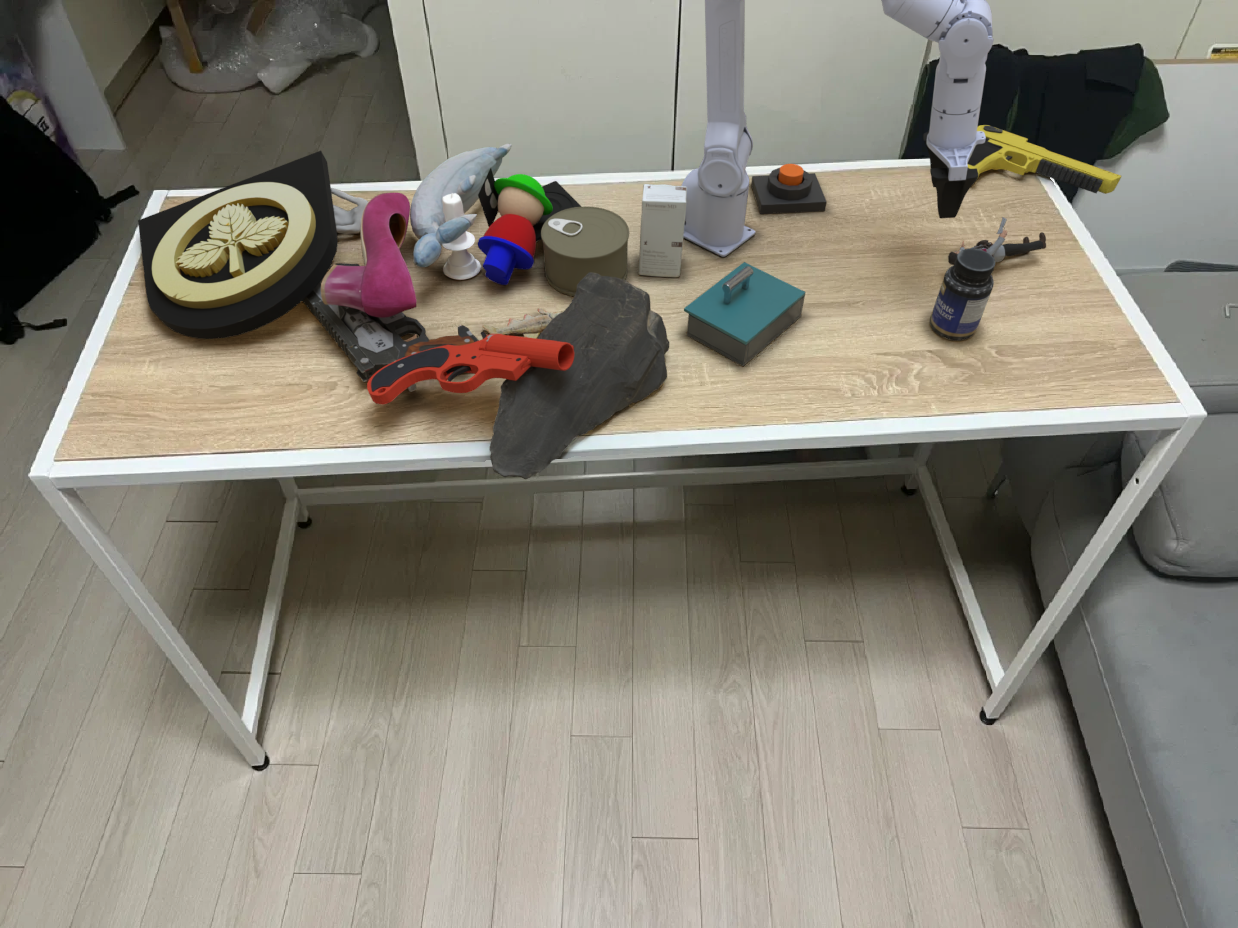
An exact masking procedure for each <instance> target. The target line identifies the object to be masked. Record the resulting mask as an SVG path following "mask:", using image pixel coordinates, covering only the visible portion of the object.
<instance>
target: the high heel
mask: <svg viewBox="0 0 1238 928" xmlns="http://www.w3.org/2000/svg"><path fill="white" fill-rule="evenodd" d="M410 208H411V204H410V201H409V198H408V197H407V196H406V195H405V194H404V193H402V192H382V193H379V194H376V195H375V196H373V197H372V198H371V199H370V200H369V201H368V203H367V205H366V206H365V209H364V211H363V214H362V218H361V232H360V247H361V255H362V261H363V265H360V266H341V265H333V264H332V265H333V266H332V267H331V268H330V269H328V271H327V272H326V273H327V274H326V275H325V277H324V278H323V280H322V283H321V297H322V301H323V303H324V304H326V305H340V306H346V307H351V308H355V309H358V310H361V311H363V312H366V313H367V314H368V315H371V316H375V317H381V318H386V317H391V316H393V315H396V314H398V313H401V312H403V313H404V312H406V311H409V310H413V309H416V308H417V306H418V305H417V304H418V303H417V302H418V301H417V295H416V291H415V287H414V283H413V280H412V276H411V274H410V271H409V267H408V266H407V263H406V261H405V259H404V257H403V254H402V253H401V250H400V249H401V247H402V245H403V243H404V241H405V238H406V235H407V232H408V227H409V222H410Z"/></svg>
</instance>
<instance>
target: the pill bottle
mask: <svg viewBox="0 0 1238 928" xmlns="http://www.w3.org/2000/svg"><path fill="white" fill-rule="evenodd" d="M954 264H955V265H952V266H949V268H948V269H947V270H946V271H945V273H944V276H943V279H942V281H941V284H940V288H939V290H938V294H937V296H936V300H935V303H934V306H933V309H932V312H931V314H930V317H929V326H930V328H931V329H932V330H933V332H934V333H935V334H936V335H937V336H939V337H941V338H944V339H947V340H949V341H956V342H957V341H958V342H961V341H966V340H968V339H971V338H972V337H973V336H974V335H975V334H976V332H977V330H978V327H979V325H980V322H981V320H982V317H983V315H984V312H985V309H986V307H987V305H988V302H989V299H990V297H991V294H992V291H993V288H994V285H995V280H994V277H993V275H992V274H993V272H994V271H995V267H996V263H995V259H994V258H993V256H992V255H990V254H989V253H987V252H986V251H983V250H980V249H974V248H972V247H971V249H970V248H964V250H962V251H960V252H959V253H958V255H957V258H956V260H955V263H954Z"/></svg>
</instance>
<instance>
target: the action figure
mask: <svg viewBox="0 0 1238 928" xmlns="http://www.w3.org/2000/svg"><path fill="white" fill-rule="evenodd" d="M1007 221H1008V218H1005V217H1003V216H1002V217H1001V221H1000V224H999V227H998V229H997V232H996V233H995V234H996V235H998V237H997V238H996V240H995V242H994V243H992V242H991V241H989V240H988V239H981V240H979V241H977V243H976V244H975V245H974V246H973V247H971V248H974V249H980V250H983V251H986V252H987V253H989V254H990V255H992V256H993V258H994V259H995V264H997V263H1000V262H1002V261H1003V260H1004V259H1005V257H1013V256H1018V255H1022V254H1023V255H1025V254H1029V253H1031V252H1033V251H1040V250H1045V249H1046V248H1047V237H1046V236H1047V235H1046V234H1045V232H1043V231H1041V232H1039V234H1038V237H1039V238H1038V239H1039V240H1034V241H1031V242H1030V238H1029V237H1028V236H1024V237H1023V239H1022V242H1020V243H1019V242H1017V243H1012V242H1011V243H1004V242H1005V241H1006V237H1007V236H1008V231H1007V230H1006V229H1005V225H1006V223H1007ZM965 245H966V244H965V240H962V242H961V247H959V250H954V251H950V252H949V253H948V255H947V260H948V262H947V263H948V264H950V265H952V266H953V265H955V264H954V263H955V260H956V258H957V255H958V253H959V252H960V251H962V250H964V249H965ZM971 248H969V249H971Z"/></svg>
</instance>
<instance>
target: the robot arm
mask: <svg viewBox="0 0 1238 928" xmlns="http://www.w3.org/2000/svg"><path fill="white" fill-rule="evenodd" d="M880 2H881V3H882V4H881V5H882V11H883V14H884V15H886V16H887V17H889V18H890V19H892V20H894V21H896V22H897V23H898V24H901V25H903V26H904V27H905V28H908V29H909V30H911V31H913V32H914V33H916V34H918V35H920V36H922V37H923V38H925V39H926V40H928V41H931V42H934V43H938V50H939V61H938V63H937V65H936V69H935V77H934V84H933V85H934V86H933V94H932V103H931V111H930V120H929V128H928V129H929V130H928V131H926V132H925V133H923V134H922V139H923V143H924V145H925V147H926V150H927V152H928V156H929V166H930V168H929V169H930V170H929V172H930V179H931V183H932V187H933V188H935V190H936V203H937V204H936V206H937V213H938V218H939V219H954V218H956V217H957V215H958V213H959V211H960V208H961V206H962V204H963V202H964V199H965V196H966V195H967V193H968V191H969V190H970V189H971V188H972V186H973V185H974V184H975V183H976V182H977V180H978V179H979V177H978V171H977V168H975V169H967V168H968V164H967V163H968V161H969V159H970V157H971V155H972V152H973V150H974V148H975V146H976V145H977V144H983V143H985V139H986V136H985V133H984V132H982V131H977V127H978V126H979V118H980V112H981V106H982V100H983V99H982V98H983V93H984V86H985V79H986V73H987V72H986V71H987V66H986V62H987V59H988V53H990V50H991V49H992V47H993V45H994V41H995V39H994V38H993V36H994V35H993V33H994V31H993V14H992V10H991V6H990V4H989V2H988V1H987V0H881V1H880ZM745 18H746V0H704V26H705V68H706V70H705V71H706V107H707V108H706V115H707V117H706V118H707V121H706V122H707V123H706V129H705V136H704V143H703V157H702V160H701V162H700V163H699V166H698V167H696V168H693V169H692V170H691V171H690V172H689V173H688V174H687V175H686V176H685V178H684V179H683V182H682V183H681V186H686V187H687V199H686V214H685V224H684V235H683V239H686V240H687V241H689V242H691V243H693V244H695V245H698V246H699V247H702V248H703V249H705V250H707V251H709V252H712V253H713V254H716V255H718V256H720V257H722V258H726V257H727V256H728V255H730V254H731V253H733V252H734V251H735V250H736V249H738V248H739V247H740V246H741V245H743V244H744V243H746V242H747V241H749V239H751V238H753V236H755V235H756V230H755V229H754V228H751V227H749V226H746V225H745V223H746V215H747V207H748V206H747V205H748V199H749V198H748V197H749V189H750V181H751V180H750V176H749V174H748V172H747V170H746V169H747V165H748V161H749V157H750V156H751V155H752V152H753V148H754V140H753V137H752V134H751V132H750V131H749V129H748V125H747V114H746V112H745V36H746V35H745V34H746V32H745V28H746V27H745V26H746V25H745V22H746V21H745V20H746V19H745ZM977 178H978V179H977Z"/></svg>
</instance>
